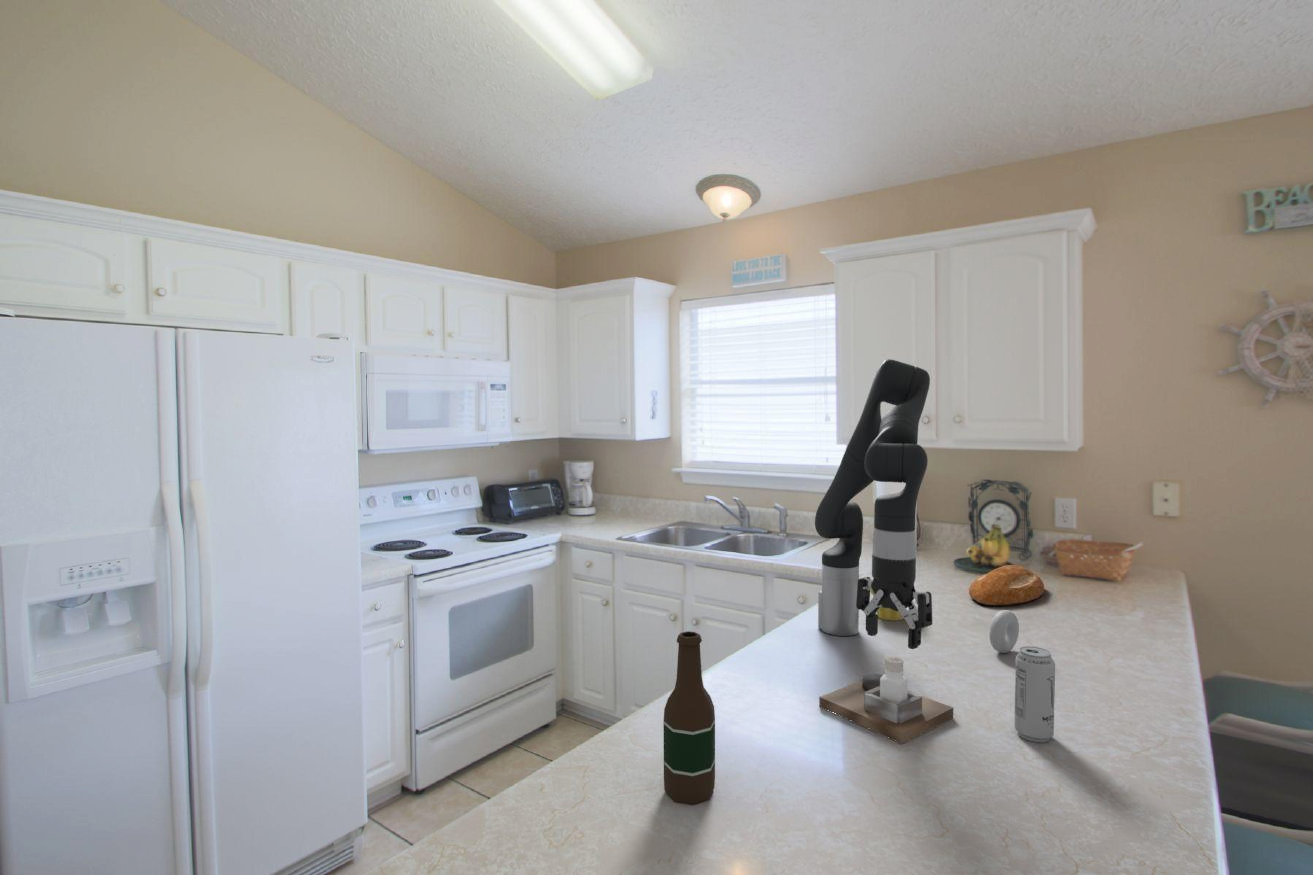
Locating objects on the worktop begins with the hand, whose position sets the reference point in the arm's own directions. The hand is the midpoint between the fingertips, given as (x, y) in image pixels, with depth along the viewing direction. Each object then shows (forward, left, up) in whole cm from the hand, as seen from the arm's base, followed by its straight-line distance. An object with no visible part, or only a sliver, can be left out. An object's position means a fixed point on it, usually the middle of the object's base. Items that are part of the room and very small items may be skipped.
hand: (892, 641), depth 124 cm
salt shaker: (0, 0, -13) cm, 13 cm away
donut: (-5, +51, -15) cm, 54 cm away
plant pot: (-37, +53, -15) cm, 66 cm away
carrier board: (-3, +2, -15) cm, 15 cm away
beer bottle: (-5, -44, -15) cm, 47 cm away
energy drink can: (+18, +15, -15) cm, 28 cm away
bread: (-28, +100, -15) cm, 105 cm away
